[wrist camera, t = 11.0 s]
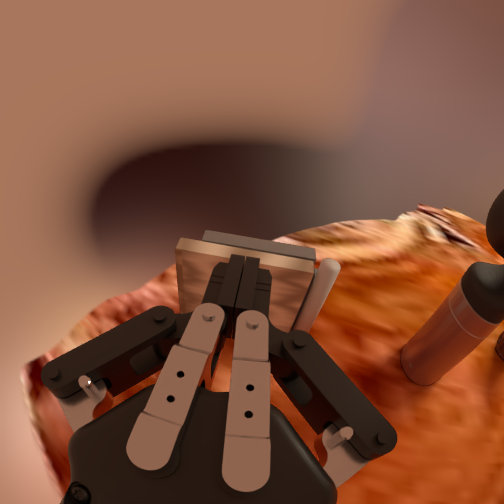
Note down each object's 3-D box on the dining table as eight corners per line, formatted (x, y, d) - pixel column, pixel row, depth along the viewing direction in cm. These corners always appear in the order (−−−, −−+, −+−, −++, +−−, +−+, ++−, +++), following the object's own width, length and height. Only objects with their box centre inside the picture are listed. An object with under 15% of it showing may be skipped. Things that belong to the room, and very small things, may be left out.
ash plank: (287, 326, 42) (313, 260, 33) (286, 337, 41) (314, 273, 31) (184, 307, 42) (180, 237, 33) (180, 318, 41) (174, 248, 31)
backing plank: (305, 316, 44) (336, 246, 35) (306, 342, 41) (341, 274, 31) (204, 299, 44) (206, 223, 34) (197, 324, 40) (195, 249, 31)
